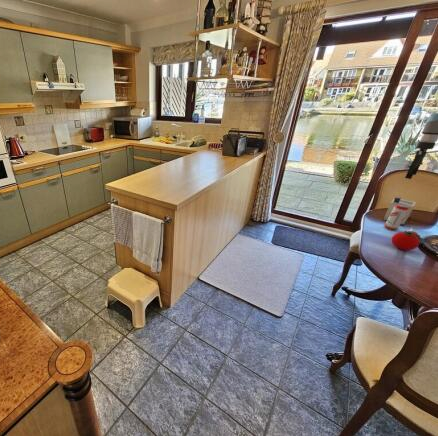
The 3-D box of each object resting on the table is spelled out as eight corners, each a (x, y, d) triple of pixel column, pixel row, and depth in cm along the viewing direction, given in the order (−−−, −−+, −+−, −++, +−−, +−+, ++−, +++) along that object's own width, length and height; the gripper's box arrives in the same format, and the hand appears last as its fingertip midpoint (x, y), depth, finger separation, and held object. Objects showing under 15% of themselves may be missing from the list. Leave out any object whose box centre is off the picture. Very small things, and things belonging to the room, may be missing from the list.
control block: (422, 241, 139) (425, 235, 137) (419, 246, 135) (423, 240, 133) (398, 235, 146) (401, 229, 144) (395, 239, 142) (398, 233, 140)
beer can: (393, 227, 155) (406, 204, 147) (399, 232, 149) (412, 208, 142) (381, 225, 156) (393, 202, 149) (386, 230, 151) (399, 206, 144)
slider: (399, 202, 158) (401, 197, 156) (398, 202, 156) (400, 198, 155) (394, 201, 159) (396, 196, 158) (393, 201, 158) (395, 197, 157)
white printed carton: (407, 220, 163) (416, 202, 157) (403, 225, 156) (412, 207, 151) (387, 215, 170) (395, 197, 165) (382, 220, 164) (390, 202, 158)
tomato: (383, 243, 138) (391, 227, 133) (399, 242, 139) (408, 227, 134) (401, 254, 128) (411, 238, 124) (419, 253, 129) (429, 237, 125)
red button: (417, 235, 138) (418, 232, 138) (415, 237, 136) (417, 235, 135) (407, 232, 141) (408, 230, 141) (405, 234, 139) (407, 232, 138)
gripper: (421, 138, 154) (406, 171, 163) (413, 143, 140) (397, 178, 150) (439, 140, 149) (422, 174, 158) (432, 144, 135) (414, 181, 144)
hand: (410, 176), depth 154 cm, fingers open, 13 cm apart
